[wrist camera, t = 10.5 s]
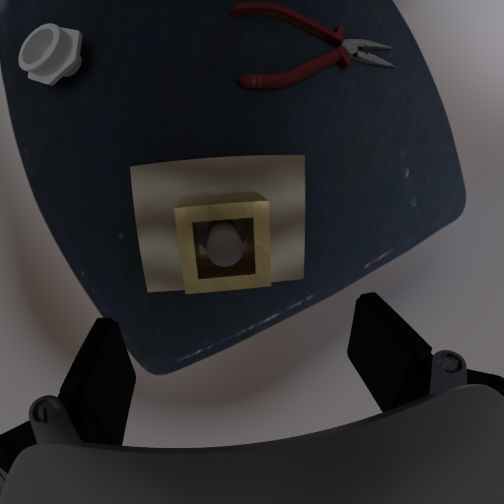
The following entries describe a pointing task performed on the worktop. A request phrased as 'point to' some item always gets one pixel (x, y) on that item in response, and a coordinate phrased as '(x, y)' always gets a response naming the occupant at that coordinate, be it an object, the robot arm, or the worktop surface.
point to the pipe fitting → (51, 53)
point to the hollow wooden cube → (252, 260)
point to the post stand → (219, 231)
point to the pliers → (339, 56)
